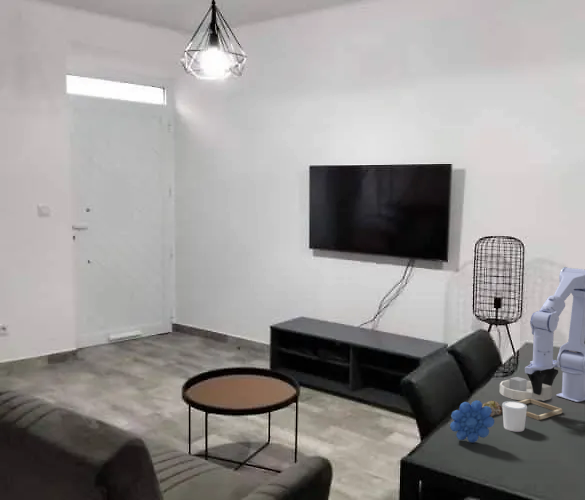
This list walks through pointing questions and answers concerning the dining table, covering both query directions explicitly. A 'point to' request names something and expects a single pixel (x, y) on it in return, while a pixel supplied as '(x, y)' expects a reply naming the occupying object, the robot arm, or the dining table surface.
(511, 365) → the dining table surface
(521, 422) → the white cup
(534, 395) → the beige grey cube
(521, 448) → the dining table surface
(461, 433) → the blue knobbed flower
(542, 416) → the parts frame
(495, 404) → the mineral rock
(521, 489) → the dining table surface
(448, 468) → the dining table surface
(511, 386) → the matte grey cube
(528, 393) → the bowl
